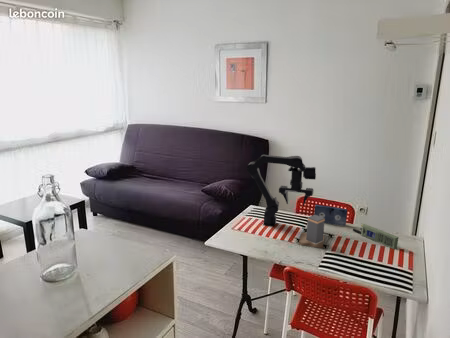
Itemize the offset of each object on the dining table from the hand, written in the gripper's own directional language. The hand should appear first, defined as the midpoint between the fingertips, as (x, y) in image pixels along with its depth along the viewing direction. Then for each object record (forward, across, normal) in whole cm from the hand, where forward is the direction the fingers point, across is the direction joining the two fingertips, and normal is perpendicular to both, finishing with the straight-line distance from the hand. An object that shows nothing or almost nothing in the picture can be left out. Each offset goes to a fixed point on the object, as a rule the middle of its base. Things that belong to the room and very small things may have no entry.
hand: (295, 204), depth 194 cm
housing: (+12, -13, +18) cm, 25 cm away
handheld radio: (+14, -42, +2) cm, 45 cm away
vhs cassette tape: (+14, -19, -12) cm, 26 cm away
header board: (+13, -12, +16) cm, 24 cm away
